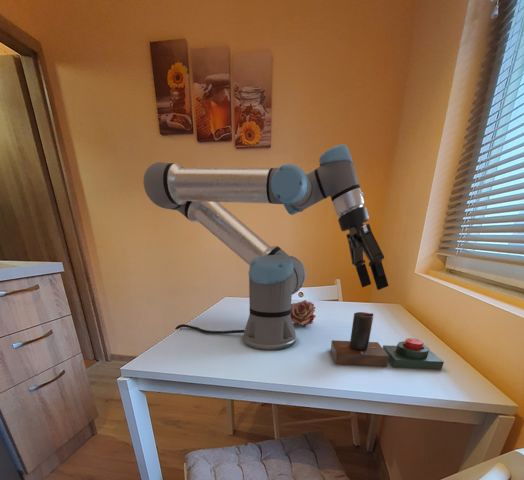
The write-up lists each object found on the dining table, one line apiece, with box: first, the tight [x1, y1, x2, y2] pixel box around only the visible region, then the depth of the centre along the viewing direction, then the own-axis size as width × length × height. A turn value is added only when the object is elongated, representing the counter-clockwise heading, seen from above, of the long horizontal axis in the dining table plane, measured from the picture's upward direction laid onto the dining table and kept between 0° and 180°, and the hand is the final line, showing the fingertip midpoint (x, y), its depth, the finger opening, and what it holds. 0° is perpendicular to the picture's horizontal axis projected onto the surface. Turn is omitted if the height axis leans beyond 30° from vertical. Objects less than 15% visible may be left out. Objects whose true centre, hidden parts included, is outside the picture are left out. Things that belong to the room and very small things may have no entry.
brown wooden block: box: [330, 339, 389, 368], centre depth 70 cm, size 12×9×3 cm
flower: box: [291, 299, 317, 328], centre depth 95 cm, size 10×9×8 cm
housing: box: [382, 340, 445, 371], centre depth 69 cm, size 11×9×4 cm
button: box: [404, 337, 425, 350], centre depth 68 cm, size 4×4×2 cm
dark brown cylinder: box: [349, 311, 374, 351], centre depth 68 cm, size 4×4×9 cm
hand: (374, 286), depth 79 cm, fingers open, 13 cm apart
